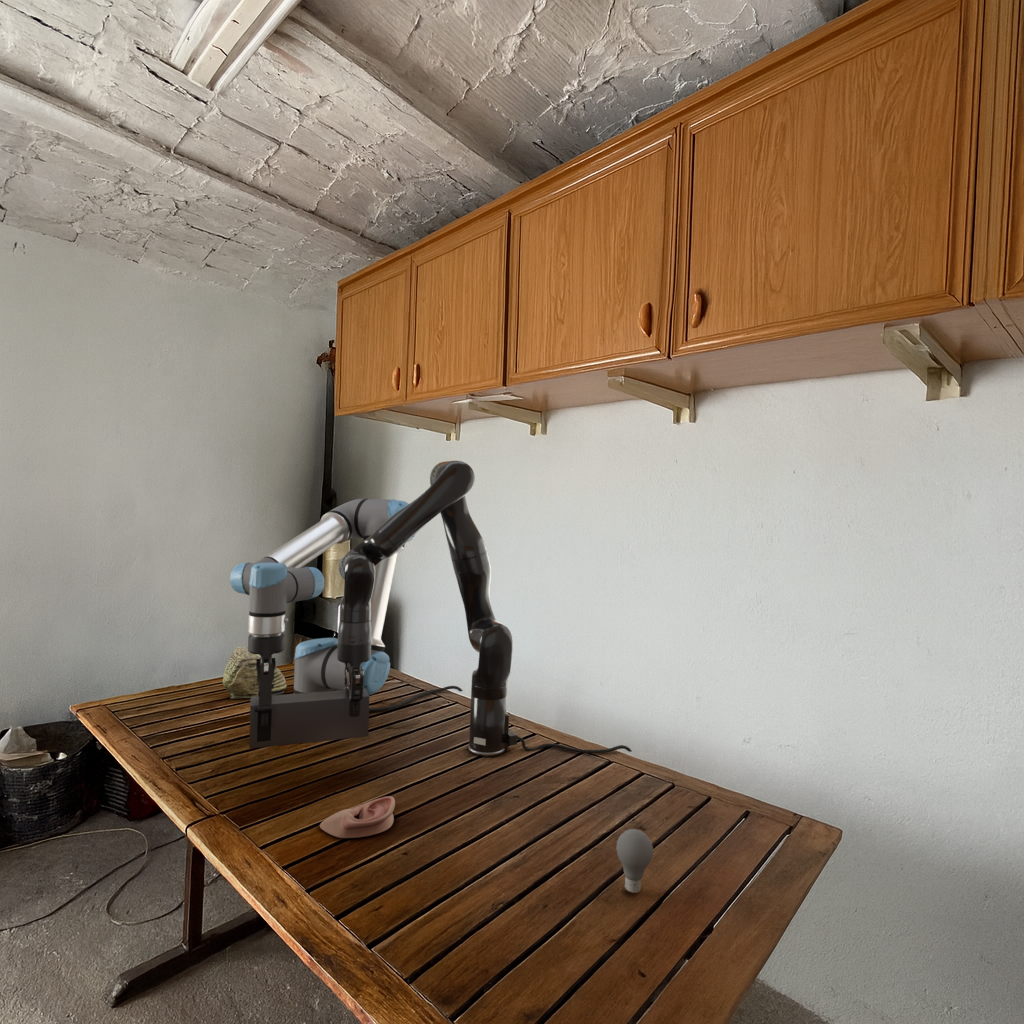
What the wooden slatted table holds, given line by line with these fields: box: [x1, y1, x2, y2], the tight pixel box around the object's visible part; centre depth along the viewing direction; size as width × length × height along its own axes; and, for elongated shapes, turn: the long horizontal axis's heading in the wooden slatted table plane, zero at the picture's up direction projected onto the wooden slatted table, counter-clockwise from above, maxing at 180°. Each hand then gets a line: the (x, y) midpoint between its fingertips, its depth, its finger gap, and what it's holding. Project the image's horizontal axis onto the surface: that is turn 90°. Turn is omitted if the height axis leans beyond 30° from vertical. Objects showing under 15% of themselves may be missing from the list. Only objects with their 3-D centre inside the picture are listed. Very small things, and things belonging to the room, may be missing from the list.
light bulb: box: [615, 828, 654, 894], centre depth 106 cm, size 6×6×10 cm
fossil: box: [222, 646, 288, 699], centre depth 198 cm, size 9×18×15 cm, turn 132°
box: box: [248, 688, 370, 749], centre depth 143 cm, size 25×6×9 cm, turn 111°
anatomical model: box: [319, 795, 396, 839], centre depth 123 cm, size 13×4×12 cm
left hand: (263, 729), depth 140 cm, fingers open, 13 cm apart
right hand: (352, 711), depth 146 cm, fingers closed on box, 6 cm apart
